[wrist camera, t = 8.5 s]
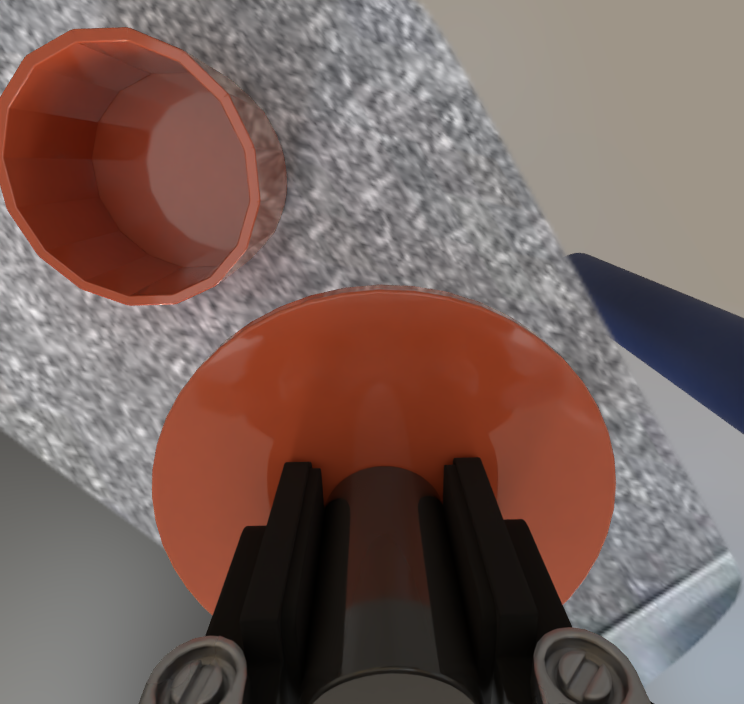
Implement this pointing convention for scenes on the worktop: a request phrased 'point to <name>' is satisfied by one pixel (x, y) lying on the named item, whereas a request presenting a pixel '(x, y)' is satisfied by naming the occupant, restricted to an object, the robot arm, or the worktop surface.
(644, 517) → the worktop surface
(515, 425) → the lid
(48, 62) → the pot
